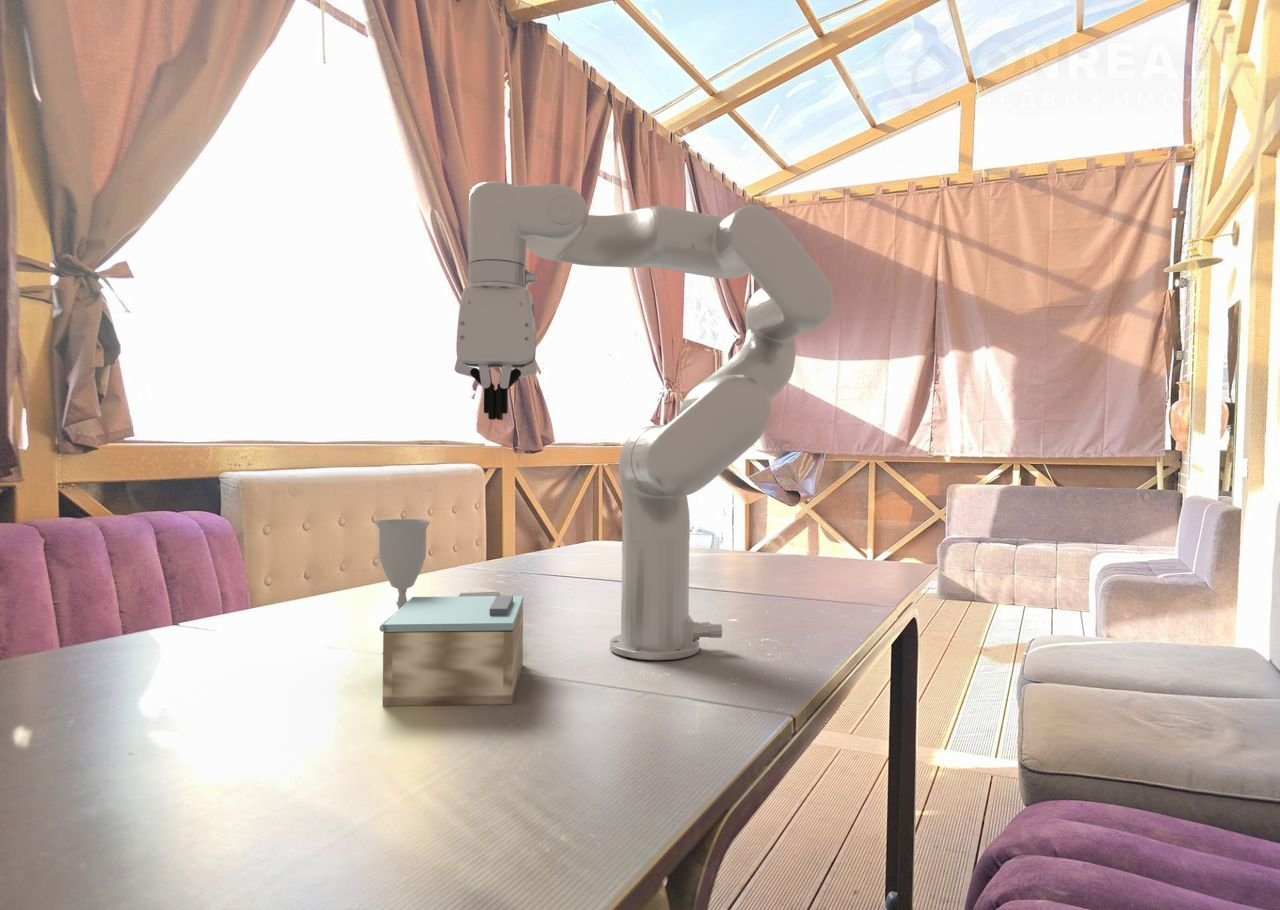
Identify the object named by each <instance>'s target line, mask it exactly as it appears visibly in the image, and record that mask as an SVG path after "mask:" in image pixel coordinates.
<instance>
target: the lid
mask: <svg viewBox="0 0 1280 910" xmlns="http://www.w3.org/2000/svg"><path fill="white" fill-rule="evenodd" d="M522 604H523V605H524V595H501V596H461V597H458V596H412V597H410V599H409V600H407V603H405V604H404V605H403V606H402V607H401V608H400V609H398V610H396V611H395V612H394V613H392V615H391V616H390V617H388V618H387V620H385V621H384V622H383V623H382V624H380V626H379V631H380V632H382V633H384V632H415V631H497V630H513V629H514V626H515V623H516V621H517V618H518V615H519V612H520V609H521V607H522Z"/></svg>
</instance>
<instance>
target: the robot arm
mask: <svg viewBox="0 0 1280 910" xmlns="http://www.w3.org/2000/svg"><path fill="white" fill-rule="evenodd" d="M468 197H469V198H468V249H467V250H468V253H467V254H468V259H467V260H468V261H467V262H468V263H467V264H468V265H467V266H468V267H467V268H468V269H467V277H468V278H467V287H465V288H463V290H462V293H461V296H460V297H461V299H460V303H459V310H458V319H457V331H456V341H455V342H456V346H455V347H456V357H457V358H456V361H455V365H454V371H455V373H457V374H459V375H464V376H467V377H471V378H473V379H474V380H475V381H476V382H477V383H478V384H479V385H480V386H481V387H482V388H483V413H484V414H488V420H492V421H494V420H498V421H503V420H504V414H506V415H507V414H508V411H509V410H508V409H509V408H508V406H509V405H508V403H509V399H508V398H509V397H508V396H509V389H510V388H511V387H512V386H513V385H514V384H515V383H516V382H517V381H518V380H520V379H523V378H526V377H532V376H535V375H537V373H538V369H537V365H536V354H537V353H536V351H537V348H536V347H537V346H536V345H537V344H536V343H537V342H536V340H537V339H536V317H535V307H534V300H533V295H532V292H531V291H529V290H528V289H527V287H529V285H531V284H537V280H538V278H537V273H536V272H531V271H529V270H528V269H527V250H529V251H530V253H533V254H534V255H535V256H537V257H539V258H542V259H545V260H549V261H552V262H559V263H566V264H572V265H578V266H589V267H601V268H602V267H604V268H605V267H607V268H629V269H630V268H631V269H632V268H633V269H637V268H653V269H658V270H664V271H665V270H667V271H673V272H679V273H684V274H689V275H691V274H692V275H698V276H702V277H703V276H704V277H710V278H716V279H725V280H735V279H740V278H743V277H744V276H746V275H749V274H751V276H752V277H753V278H754V280H755V281H756V283H757V284H758V285H759V288H758V289H757V290H756V291H755V292H754V293H753V294H752V295H751V297H750V299H749V300H748V303H747V306H746V308H745V316H744V317H745V320H744V321H745V340H744V343H743V345H742V346H741V348H740V350H738V351H737V352H736V353H735V354H734V355H733V356H732V357H731V358H730V359H728V361H726V362H725V364H723V365H721V366H720V367H719V368H718V369H717V370H715V372H713V373H712V374H710V376H707V378H706V379H704V380H703V381H702V382H700V383H698V385H696V386H695V387H693V388H692V389H691V390H690V391H689V392H688V393H687V395H685V398H684V399H683V401H682V403H681V405H680V410H679V415H678V416H676V417H675V418H674V419H673V420H672V421H670V422H669V423H667V424H659V425H658V424H657V425H656V424H655V425H648V426H645V427H641V428H640V429H637V430H636V431H635V432H633V433H632V434H631V435H630V436H628V438H627V440H626V441H625V442H624V444H623V445H622V448H621V451H620V454H619V458H618V459H619V460H618V473H619V474H618V475H619V485H620V486H619V487H620V494H621V512H622V513H621V514H622V523H621V524H622V528H621V529H622V530H621V531H622V535H621V536H622V539H621V598H620V599H621V600H620V601H621V602H620V603H621V609H620V610H621V611H620V612H621V613H620V614H621V617H620V619H621V621H620V634H618V635H616V636H613V637H612V638H611V639H610V642H609V649H610V650H611V652H612V653H614V654H616V655H618V656H621V657H625V658H629V659H636V660H646V661H669V660H679V659H685V658H688V657H691V656H693V655H696V654H697V653H698V652H699V651H700V642H699V641H700V638H708V639H712V638H713V639H722V637H723V628H722V627H723V626H722V624H721V623H711V622H710V621H702V622H698V621H694V620H693V619H692V617H691V616H690V614H689V609H690V608H689V603H690V602H689V601H690V599H689V595H690V594H689V593H690V590H689V589H690V539H691V536H690V535H691V523H690V508H689V501H688V496H689V495H693V494H694V493H697V492H699V490H701V489H703V488H704V487H706V486H707V485H708V484H710V483H711V482H712V481H713V480H714V479H715V478H717V477H718V476H719V475H720V474H721V473H723V472H724V471H725V470H726V469H727V468H728V467H729V466H731V465H732V464H733V463H734V462H735V461H736V460H738V459H739V458H740V457H741V456H742V455H743V454H744V453H746V452H747V451H748V450H749V449H750V448H751V447H752V446H754V444H755V443H757V441H759V440H760V438H761V437H762V435H763V434H764V433H765V432H766V430H767V428H768V425H769V423H770V420H771V416H772V403H771V401H772V399H774V398H775V397H776V396H777V395H778V394H779V393H780V392H781V391H782V390H783V389H784V388H785V387H786V386H787V384H788V383H789V381H790V379H791V378H792V375H793V372H794V370H795V369H794V368H795V362H796V351H797V347H796V336H799V335H803V334H807V333H810V332H814V331H815V330H817V329H820V328H821V327H822V326H823V325H825V324H826V323H827V322H828V321H829V319H830V317H831V315H832V313H833V310H834V307H835V306H834V305H835V298H834V297H835V296H834V292H833V288H832V286H831V284H830V282H829V279H828V278H827V277H826V275H825V274H824V272H823V271H822V269H821V268H820V267H819V266H818V265H817V263H816V262H815V261H814V259H813V258H812V257H811V256H810V254H809V253H808V252H807V250H805V248H804V247H803V245H802V244H801V243H800V241H798V239H797V238H796V237H795V235H794V234H793V233H792V231H791V230H790V229H789V228H788V227H787V226H786V225H785V224H784V223H783V222H782V220H781V219H779V218H778V217H777V215H775V214H774V213H772V212H771V211H770V210H768V209H767V208H765V207H763V206H760V205H757V204H748V205H745V206H742V207H740V208H737V209H736V210H735V211H733V212H732V213H730V214H729V215H727V216H718V215H714V214H706V213H701V212H695V211H690V210H684V209H681V208H675V207H671V206H665V205H652V206H651V205H650V206H645V207H642V208H641V207H640V208H638V209H635V210H634V209H633V210H631V211H628V212H625V213H620V214H612V215H611V214H610V215H594V214H589V211H588V209H589V208H588V205H587V203H586V200H585V198H584V197H583V196H582V194H580V192H578V191H577V190H576V189H574V188H573V187H570V186H567V185H564V184H559V183H558V184H555V183H553V184H551V183H549V184H537V185H515V184H513V183H512V184H511V183H507V182H501V181H487V182H486V181H485V182H480V183H478V184H476V185H475V186H473V187H472V189H470V193H469V195H468ZM491 368H501V371H500V377H499V383H498V384H497V388H496V389H495V386H496V385H494V383H493V377H492V371H491Z"/></svg>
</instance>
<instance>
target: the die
mask: <svg viewBox="0 0 1280 910" xmlns="http://www.w3.org/2000/svg"><path fill="white" fill-rule="evenodd" d="M461 596H502V595H501V593H500V592H499V591H497V590H494V589H490V588H484V587H479V586H475V587H473V588H470V589H468V590H465V591H462V592H460V593H459V594H458V596H457V597H461Z"/></svg>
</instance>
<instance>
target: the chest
mask: <svg viewBox="0 0 1280 910" xmlns="http://www.w3.org/2000/svg"><path fill="white" fill-rule="evenodd" d="M382 633H383V634H382V636H383V637H382V638H383V639H382V640H383V641H382V707H395V706H396V707H399V706H400V707H404V706H405V707H408V706H409V707H410V706H411V707H412V706H470V705H471V706H475V705H476V706H480V705H481V706H483V705H484V706H487V705H495V706H496V705H513V702H514V700H515V695H516V690H517V687H518V683H519V679H520V675H521V672H522V667H523V662H524V661H523V656H524V655H523V654H524V653H523V651H524V650H523V648H524V646H523V645H524V644H523V643H524V641H523V639H524V603H523V604H522V607H521V609H520V612H519V615H518V618H517V621H516V623H515V626H514V629H513V630H497V631H415V632H382Z"/></svg>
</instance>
